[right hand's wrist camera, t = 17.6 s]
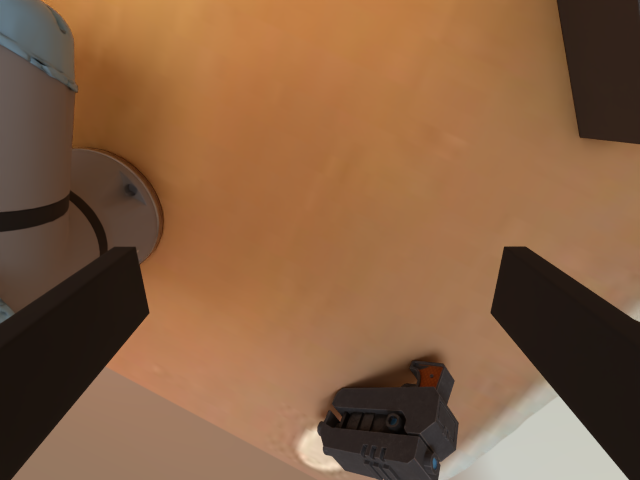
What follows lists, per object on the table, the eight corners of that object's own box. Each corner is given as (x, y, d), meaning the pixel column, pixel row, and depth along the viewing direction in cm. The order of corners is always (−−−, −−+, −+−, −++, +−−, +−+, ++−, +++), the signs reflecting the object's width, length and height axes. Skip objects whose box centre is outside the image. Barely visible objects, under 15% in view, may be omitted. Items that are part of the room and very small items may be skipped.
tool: (467, 381, 47) (451, 502, 36) (356, 381, 59) (319, 472, 49) (447, 350, 45) (425, 468, 35) (337, 357, 57) (295, 446, 47)
